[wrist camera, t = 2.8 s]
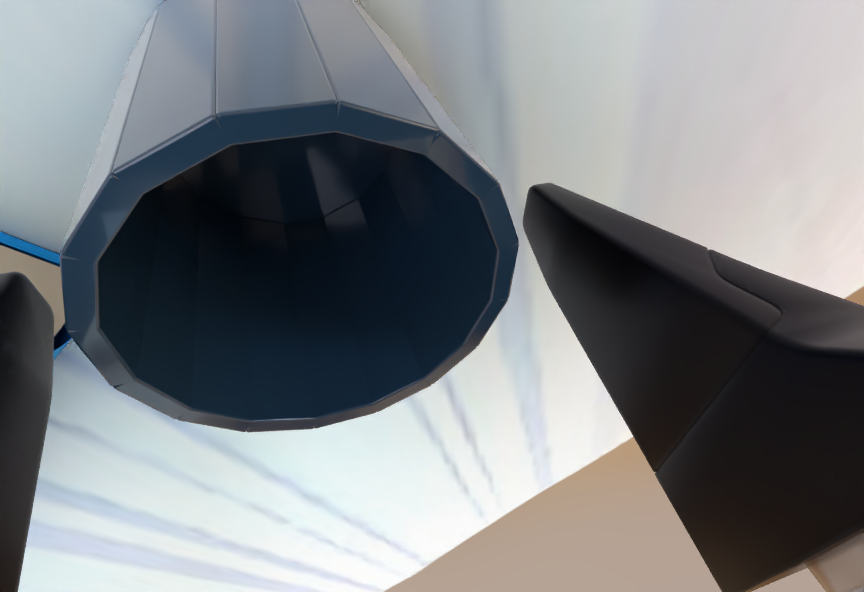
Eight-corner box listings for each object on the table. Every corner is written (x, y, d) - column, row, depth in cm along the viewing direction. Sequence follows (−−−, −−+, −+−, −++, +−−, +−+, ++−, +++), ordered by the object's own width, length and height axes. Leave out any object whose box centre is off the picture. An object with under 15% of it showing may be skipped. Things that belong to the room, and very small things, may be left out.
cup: (400, -45, 11) (551, 77, 6) (406, 202, 16) (494, 382, 11) (73, -30, 10) (-86, 147, 5) (189, 238, 14) (174, 466, 9)
